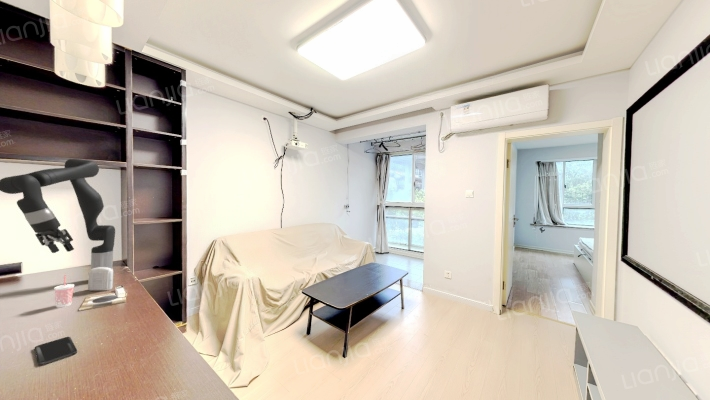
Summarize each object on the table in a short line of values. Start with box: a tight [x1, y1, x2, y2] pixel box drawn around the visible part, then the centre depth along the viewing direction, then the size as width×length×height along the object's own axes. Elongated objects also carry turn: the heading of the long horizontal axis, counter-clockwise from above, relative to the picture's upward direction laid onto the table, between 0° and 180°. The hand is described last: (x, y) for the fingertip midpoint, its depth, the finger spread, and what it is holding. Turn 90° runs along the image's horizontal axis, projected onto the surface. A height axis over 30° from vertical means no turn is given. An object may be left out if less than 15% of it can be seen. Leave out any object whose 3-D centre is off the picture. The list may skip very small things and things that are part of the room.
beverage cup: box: [53, 275, 75, 308], centre depth 113 cm, size 6×6×14 cm
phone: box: [34, 336, 78, 367], centre depth 80 cm, size 8×1×15 cm
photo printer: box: [87, 267, 114, 291], centre depth 132 cm, size 10×4×12 cm, turn 98°
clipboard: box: [78, 290, 129, 312], centre depth 119 cm, size 18×15×1 cm
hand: (63, 251), depth 111 cm, fingers open, 8 cm apart
